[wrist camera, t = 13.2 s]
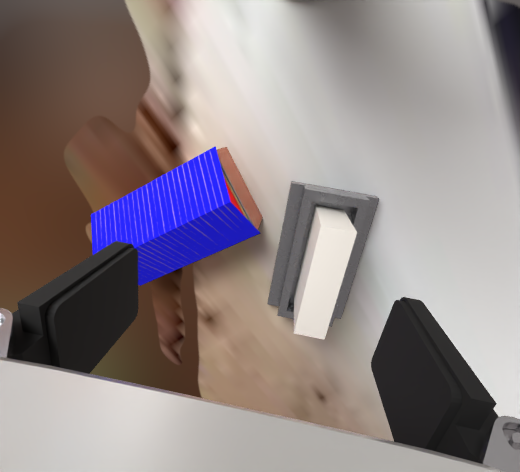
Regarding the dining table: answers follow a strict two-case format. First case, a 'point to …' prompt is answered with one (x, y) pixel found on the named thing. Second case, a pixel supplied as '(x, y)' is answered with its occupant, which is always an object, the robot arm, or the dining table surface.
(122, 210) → the blue shipping container
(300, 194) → the grey holder tray
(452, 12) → the dining table surface
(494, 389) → the dining table surface
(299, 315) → the white block
